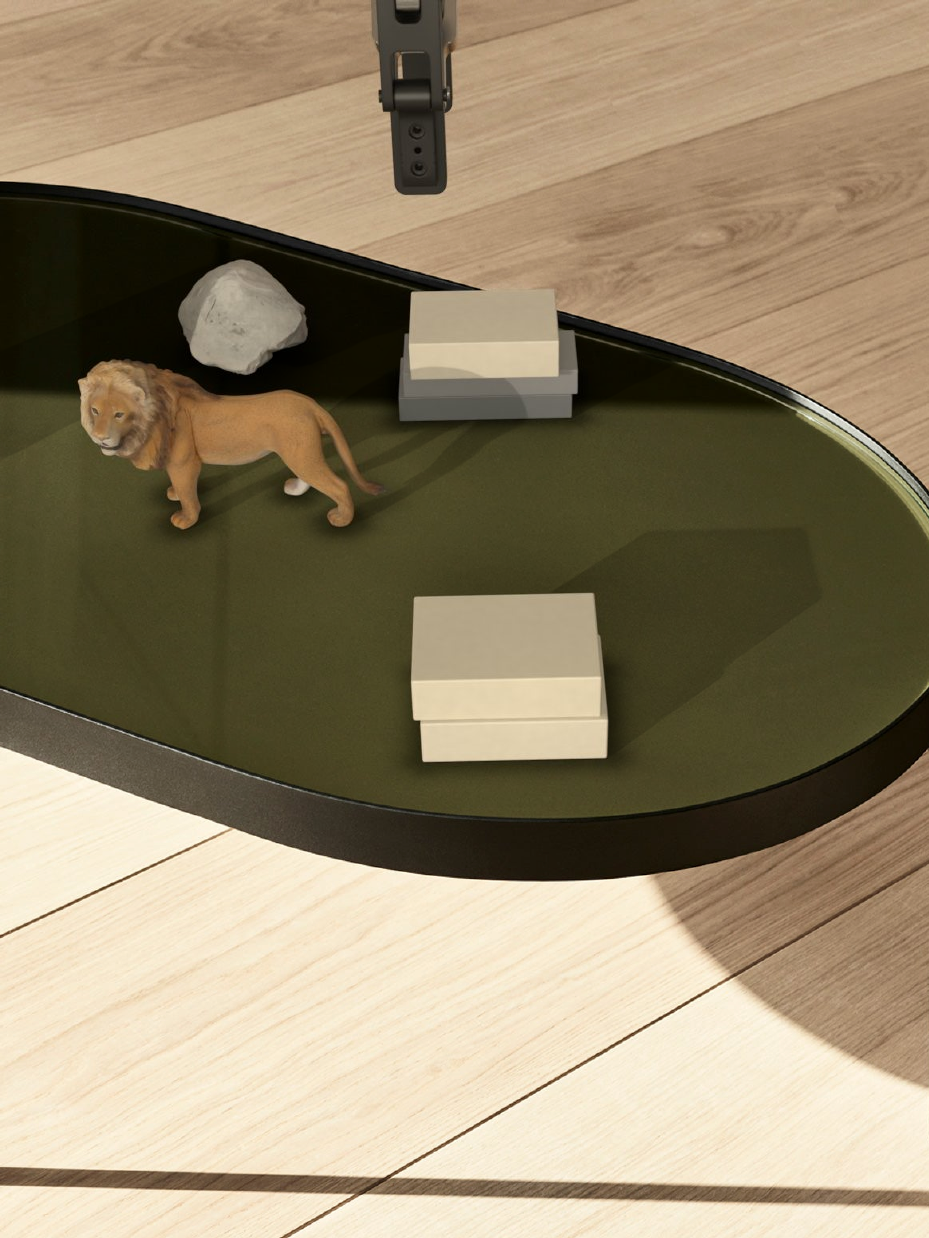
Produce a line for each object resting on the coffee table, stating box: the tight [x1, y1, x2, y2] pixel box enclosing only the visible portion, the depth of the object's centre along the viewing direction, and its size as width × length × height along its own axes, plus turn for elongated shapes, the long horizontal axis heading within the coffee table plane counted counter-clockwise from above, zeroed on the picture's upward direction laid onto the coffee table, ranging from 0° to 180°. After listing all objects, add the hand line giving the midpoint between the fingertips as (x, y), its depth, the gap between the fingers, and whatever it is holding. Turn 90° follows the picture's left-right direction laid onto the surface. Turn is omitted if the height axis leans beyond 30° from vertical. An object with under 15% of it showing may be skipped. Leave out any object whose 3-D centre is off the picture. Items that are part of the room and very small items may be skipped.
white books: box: [410, 592, 609, 763], centre depth 81 cm, size 8×6×4 cm
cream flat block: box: [408, 288, 559, 380], centre depth 101 cm, size 8×6×2 cm
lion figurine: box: [77, 358, 387, 530], centre depth 92 cm, size 15×5×9 cm, turn 98°
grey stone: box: [177, 259, 308, 376], centre depth 106 cm, size 9×8×5 cm
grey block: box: [398, 329, 579, 422], centre depth 102 cm, size 10×4×3 cm, turn 91°
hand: (425, 149), depth 81 cm, fingers open, 8 cm apart
